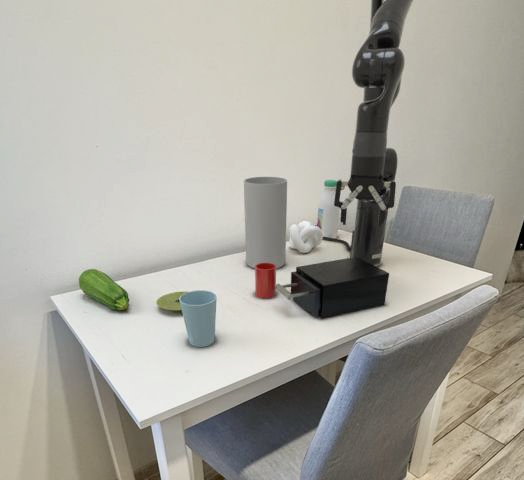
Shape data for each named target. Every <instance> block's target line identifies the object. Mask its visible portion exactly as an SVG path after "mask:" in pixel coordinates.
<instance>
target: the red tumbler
mask: <svg viewBox="0 0 524 480" xmlns="http://www.w3.org/2000/svg"><path fill="white" fill-rule="evenodd" d="M254 280H255V281H254V282H255V283H254V284H255V285H254V287H255V289H254V290H255V296H256V297H257V298H259V299H263V300H264V299H265V300H267V299H273V298H274V297H276V294H277V290H276V288H275V286H276V285H277V269H276V265H275V264H272V263H259V264H257V265H255V268H254Z"/></svg>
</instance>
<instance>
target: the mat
mask: <svg viewBox="0 0 524 480" xmlns="http://www.w3.org/2000/svg"><path fill="white" fill-rule="evenodd" d="M187 292H189V291H174V292H170V293H167V294H164V295H162V296H160V297H159V298H158V299H157V300H156V305H157V306H158V307H159V308H161V309H163V310H168V311H182V309H181V306H180V301H179V298H180V296H181V295H183V294H184V293H187Z"/></svg>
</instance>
